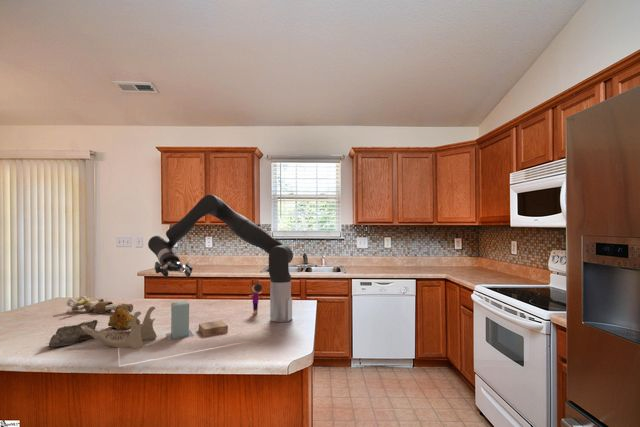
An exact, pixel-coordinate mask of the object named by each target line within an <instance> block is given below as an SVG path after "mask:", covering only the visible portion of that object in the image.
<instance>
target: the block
mask: <svg viewBox="0 0 640 427" xmlns="http://www.w3.org/2000/svg"><path fill="white" fill-rule="evenodd" d="M170 311H171V314H170V315H171V318H170V321H171V322H170V333H171V335H172V337H173V338H178V337H184V336H189V330H190V303H189V302H188V301H186V300H185V301H178V302H177V301H176V302H171V310H170Z"/></svg>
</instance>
